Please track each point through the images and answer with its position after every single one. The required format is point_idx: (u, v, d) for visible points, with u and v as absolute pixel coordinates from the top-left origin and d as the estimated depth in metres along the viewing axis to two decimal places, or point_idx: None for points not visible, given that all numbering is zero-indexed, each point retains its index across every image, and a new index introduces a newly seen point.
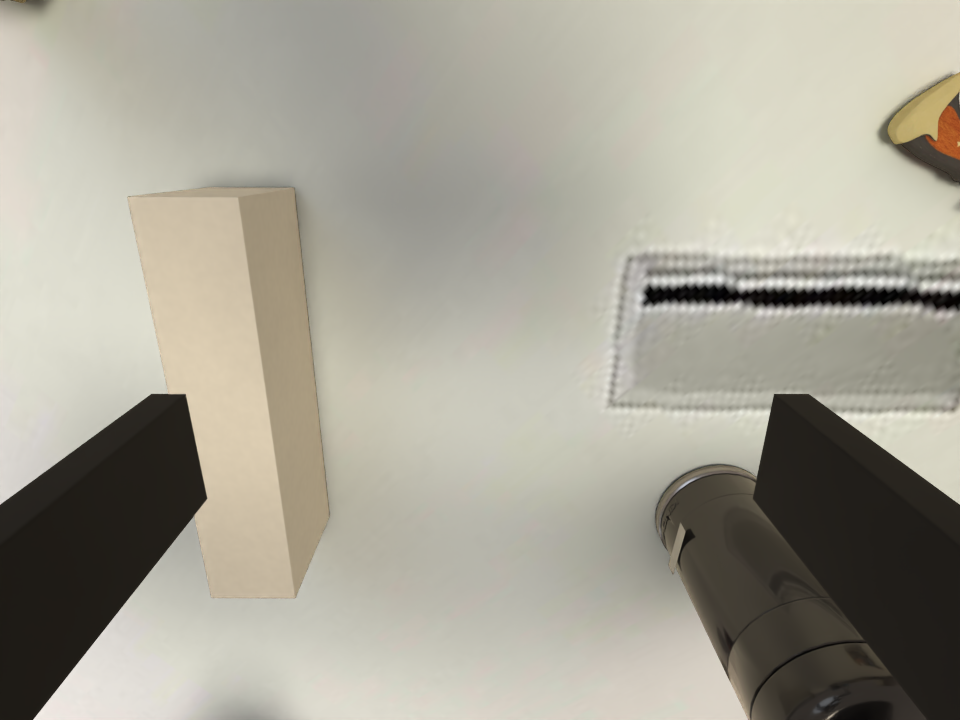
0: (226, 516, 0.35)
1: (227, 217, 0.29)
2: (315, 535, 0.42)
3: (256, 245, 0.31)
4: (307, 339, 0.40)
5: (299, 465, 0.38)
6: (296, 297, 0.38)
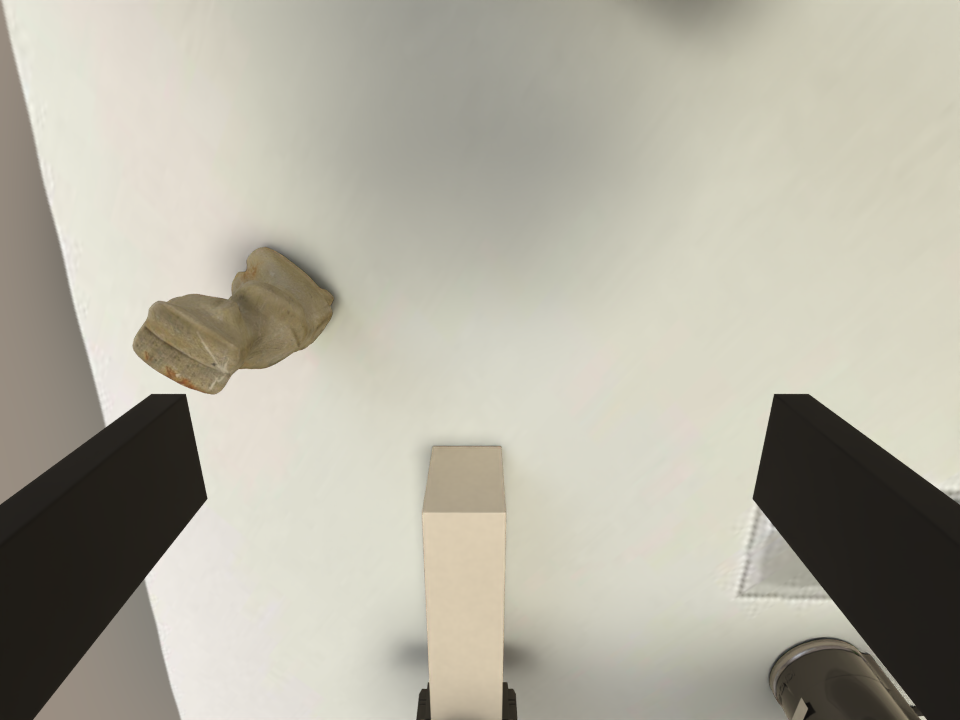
0: (456, 716, 0.45)
1: (495, 525, 0.38)
2: None
3: None
4: None
5: None
6: None
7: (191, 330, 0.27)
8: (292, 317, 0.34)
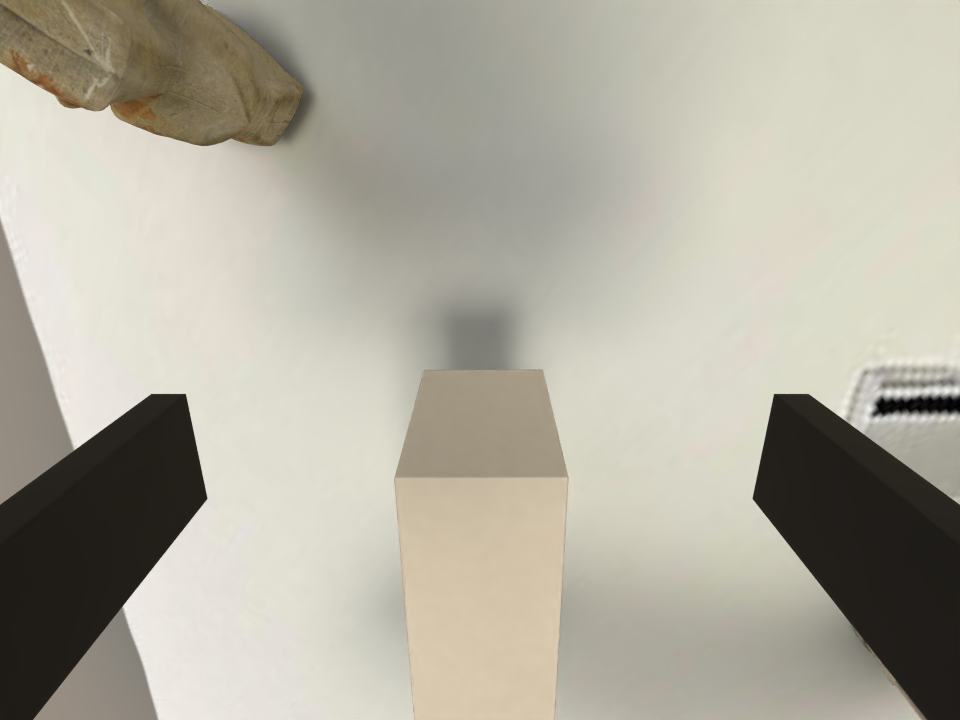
0: None
1: (545, 503, 0.19)
2: None
3: None
4: None
5: None
6: None
7: None
8: (233, 56, 0.23)
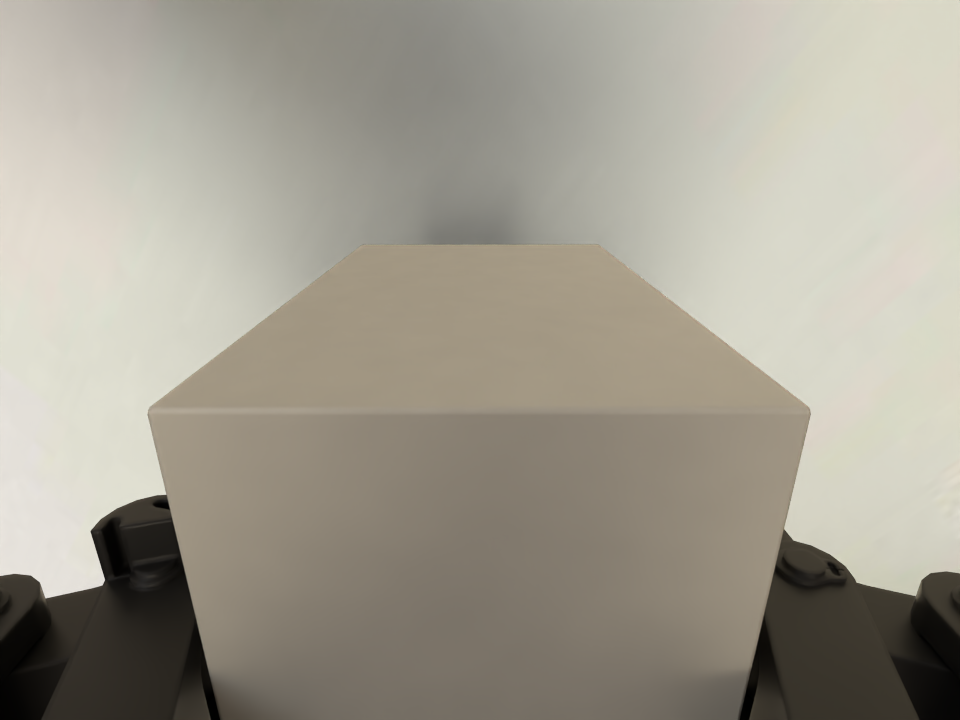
0: None
1: (713, 508, 0.05)
2: None
3: None
4: None
5: None
6: None
7: None
8: None
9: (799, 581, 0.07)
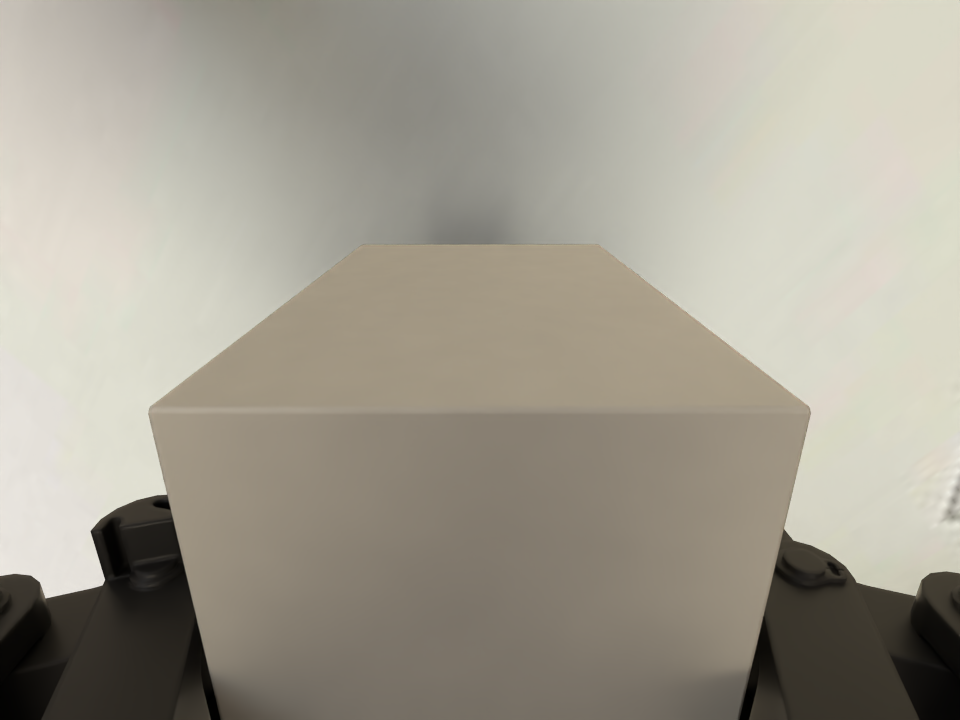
0: None
1: (713, 508, 0.05)
2: None
3: None
4: None
5: None
6: None
7: None
8: None
9: (798, 580, 0.07)
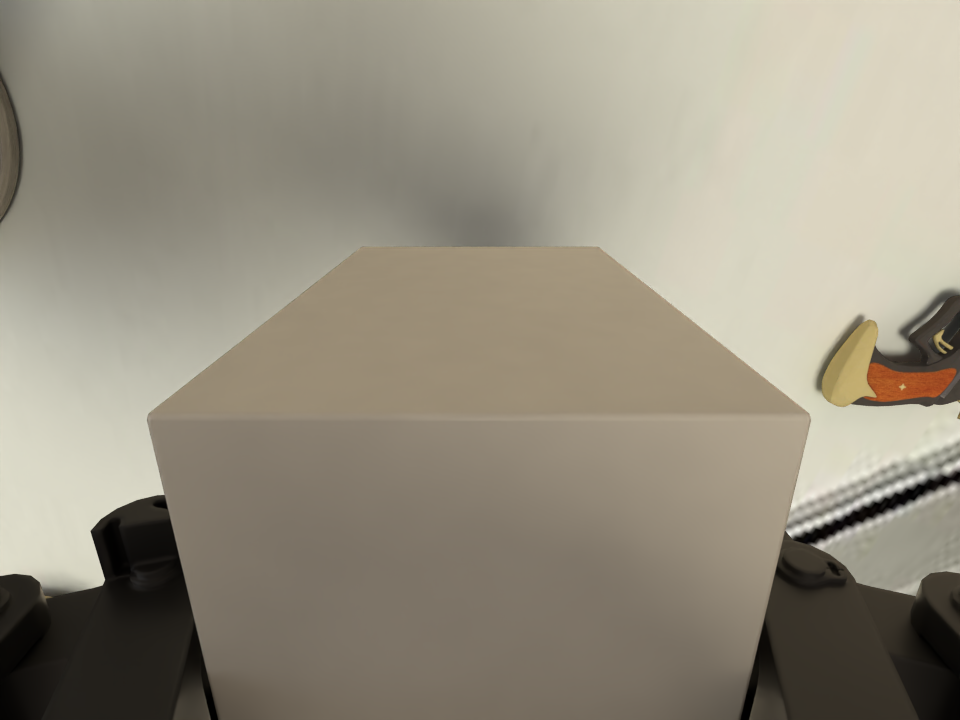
0: None
1: (713, 515, 0.05)
2: None
3: None
4: None
5: None
6: None
7: None
8: None
9: (798, 580, 0.07)
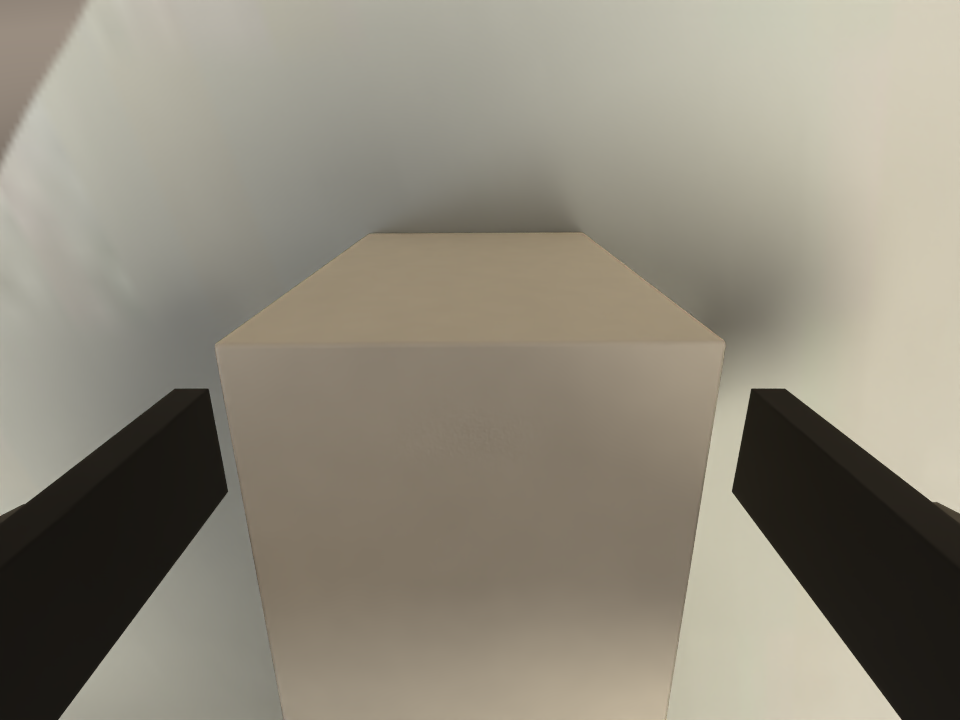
0: None
1: (654, 424, 0.07)
2: None
3: None
4: None
5: None
6: None
7: None
8: None
9: None
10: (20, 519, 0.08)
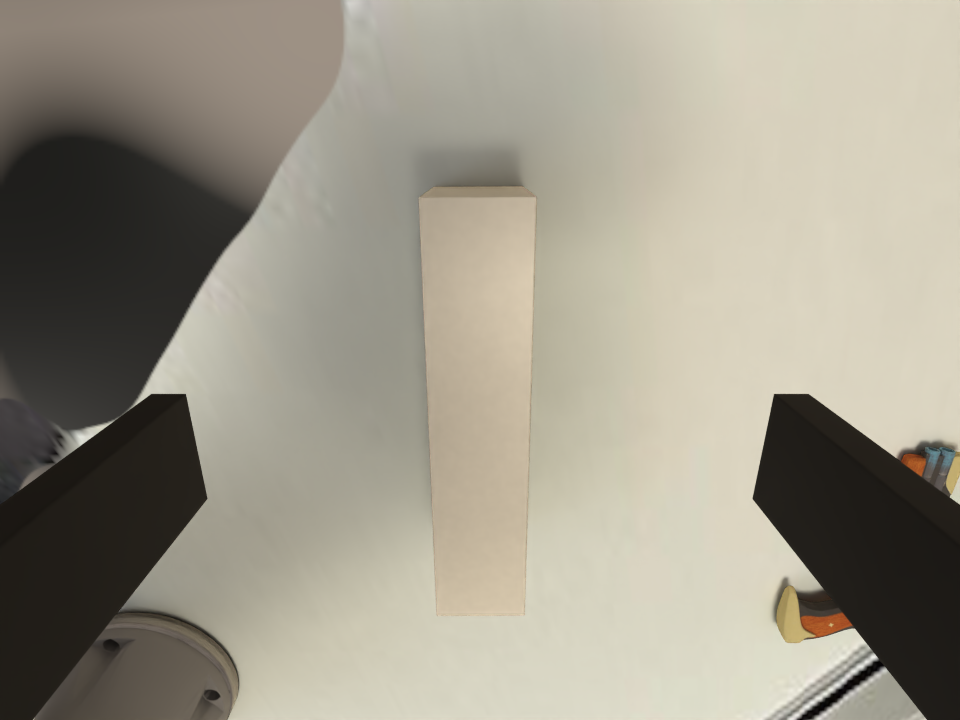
0: (467, 531, 0.34)
1: (521, 218, 0.27)
2: None
3: None
4: None
5: None
6: None
7: None
8: None
9: None
10: None
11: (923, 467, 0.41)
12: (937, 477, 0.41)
